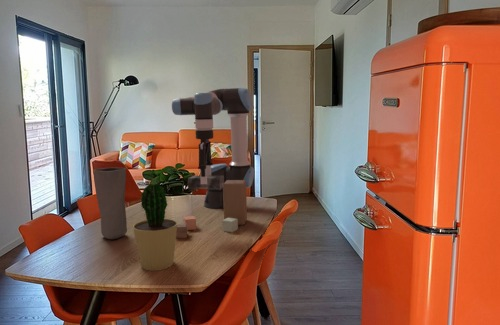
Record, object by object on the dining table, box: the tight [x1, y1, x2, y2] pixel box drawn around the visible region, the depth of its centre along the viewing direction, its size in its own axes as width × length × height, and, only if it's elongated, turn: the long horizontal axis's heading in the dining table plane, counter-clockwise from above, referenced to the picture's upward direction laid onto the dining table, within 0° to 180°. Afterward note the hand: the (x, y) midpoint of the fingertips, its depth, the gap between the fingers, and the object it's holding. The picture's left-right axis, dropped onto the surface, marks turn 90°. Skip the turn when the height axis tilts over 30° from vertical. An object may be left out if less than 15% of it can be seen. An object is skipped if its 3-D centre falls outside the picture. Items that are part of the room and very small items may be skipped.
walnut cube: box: [176, 223, 188, 239], centre depth 180 cm, size 5×5×5 cm
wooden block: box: [223, 180, 248, 226], centre depth 199 cm, size 10×10×20 cm
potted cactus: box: [132, 183, 178, 271], centre depth 147 cm, size 15×15×30 cm
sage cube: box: [221, 218, 239, 233], centre depth 188 cm, size 5×5×5 cm
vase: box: [93, 167, 128, 240], centre depth 178 cm, size 12×12×30 cm
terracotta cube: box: [182, 215, 197, 231], centre depth 192 cm, size 5×5×5 cm
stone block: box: [187, 175, 224, 190], centre depth 181 cm, size 9×14×5 cm, turn 79°
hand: (206, 181), depth 180 cm, fingers closed on stone block, 8 cm apart
